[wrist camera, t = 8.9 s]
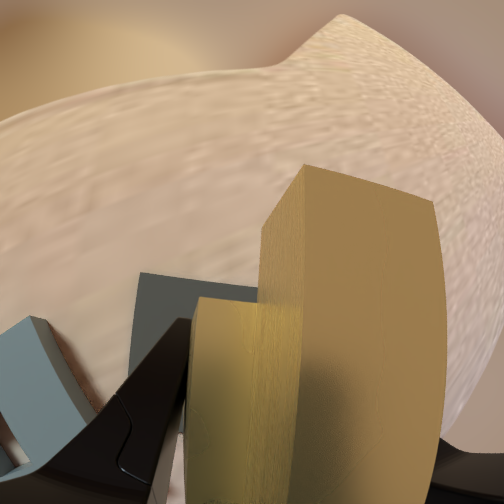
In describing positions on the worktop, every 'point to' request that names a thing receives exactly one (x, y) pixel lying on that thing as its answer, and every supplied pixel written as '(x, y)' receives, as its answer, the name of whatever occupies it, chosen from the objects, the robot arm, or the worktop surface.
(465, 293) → the worktop surface
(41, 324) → the block
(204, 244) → the worktop surface
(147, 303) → the rubber mat
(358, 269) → the brass key
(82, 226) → the worktop surface
